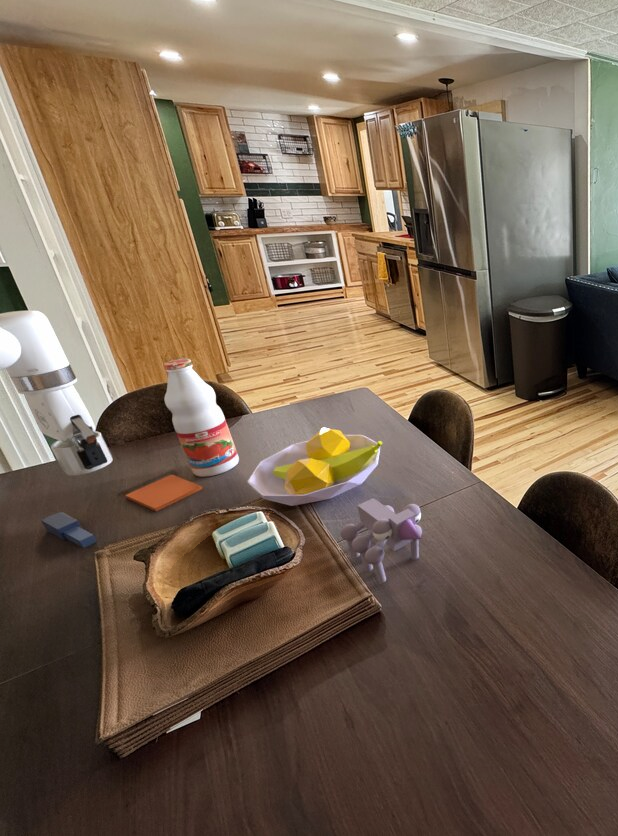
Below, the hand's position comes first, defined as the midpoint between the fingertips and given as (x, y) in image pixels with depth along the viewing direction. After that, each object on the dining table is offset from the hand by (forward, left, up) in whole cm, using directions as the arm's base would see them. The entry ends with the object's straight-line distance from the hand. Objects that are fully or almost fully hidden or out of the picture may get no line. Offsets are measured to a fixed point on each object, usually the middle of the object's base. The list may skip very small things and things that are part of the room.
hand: (86, 460), depth 94 cm
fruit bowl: (+27, -30, -15) cm, 43 cm away
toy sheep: (+14, -65, -15) cm, 68 cm away
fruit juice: (+21, +2, -15) cm, 25 cm away
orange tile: (+9, +1, -14) cm, 17 cm away
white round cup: (0, 0, -1) cm, 1 cm away
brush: (-6, +1, -14) cm, 16 cm away
